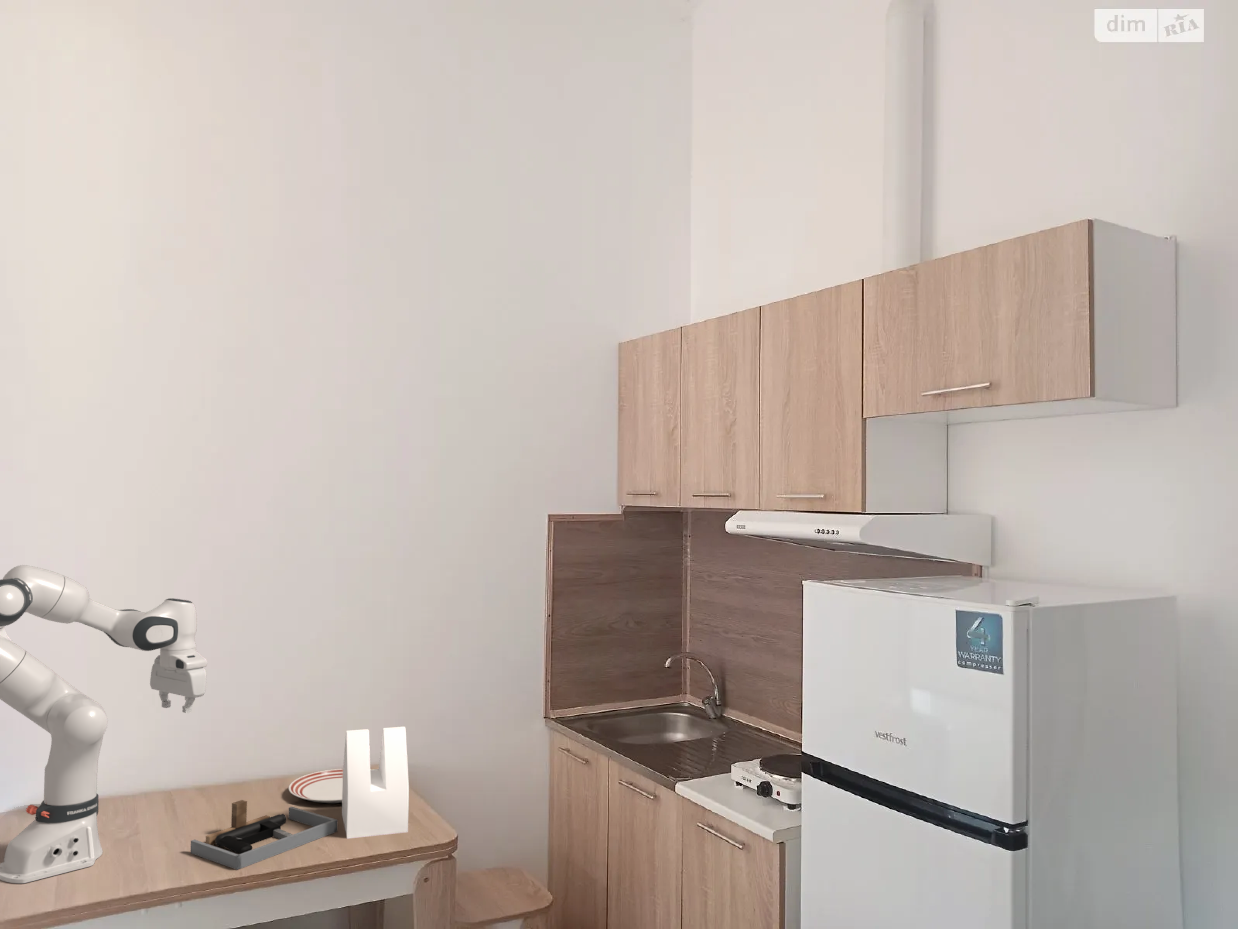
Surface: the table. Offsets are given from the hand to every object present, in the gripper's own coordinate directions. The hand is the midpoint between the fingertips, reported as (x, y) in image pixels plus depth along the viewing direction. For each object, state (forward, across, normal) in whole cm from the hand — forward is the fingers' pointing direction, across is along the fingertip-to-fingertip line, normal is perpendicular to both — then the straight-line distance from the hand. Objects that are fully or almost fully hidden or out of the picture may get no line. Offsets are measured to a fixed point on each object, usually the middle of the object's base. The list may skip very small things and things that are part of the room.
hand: (176, 710), depth 256 cm
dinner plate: (+29, +19, +40) cm, 53 cm away
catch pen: (+29, +35, +3) cm, 45 cm away
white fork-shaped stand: (+29, +46, +28) cm, 62 cm away
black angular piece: (+30, +33, +4) cm, 44 cm away
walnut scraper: (+29, +24, +3) cm, 38 cm away
